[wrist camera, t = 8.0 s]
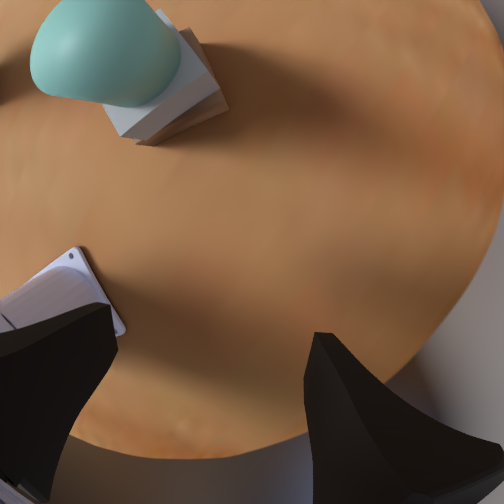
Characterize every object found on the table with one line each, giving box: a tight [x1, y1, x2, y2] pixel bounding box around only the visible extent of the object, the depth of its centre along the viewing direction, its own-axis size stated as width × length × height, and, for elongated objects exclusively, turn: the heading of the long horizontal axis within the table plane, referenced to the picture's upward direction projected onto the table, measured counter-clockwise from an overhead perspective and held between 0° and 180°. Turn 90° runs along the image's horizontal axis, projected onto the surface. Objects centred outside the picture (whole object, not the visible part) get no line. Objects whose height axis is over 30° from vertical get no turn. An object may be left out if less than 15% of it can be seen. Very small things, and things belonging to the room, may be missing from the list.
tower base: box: [133, 27, 230, 146], centre depth 15 cm, size 6×6×3 cm
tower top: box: [101, 9, 220, 141], centre depth 12 cm, size 5×5×3 cm
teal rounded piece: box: [30, 0, 181, 108], centre depth 8 cm, size 4×4×5 cm
